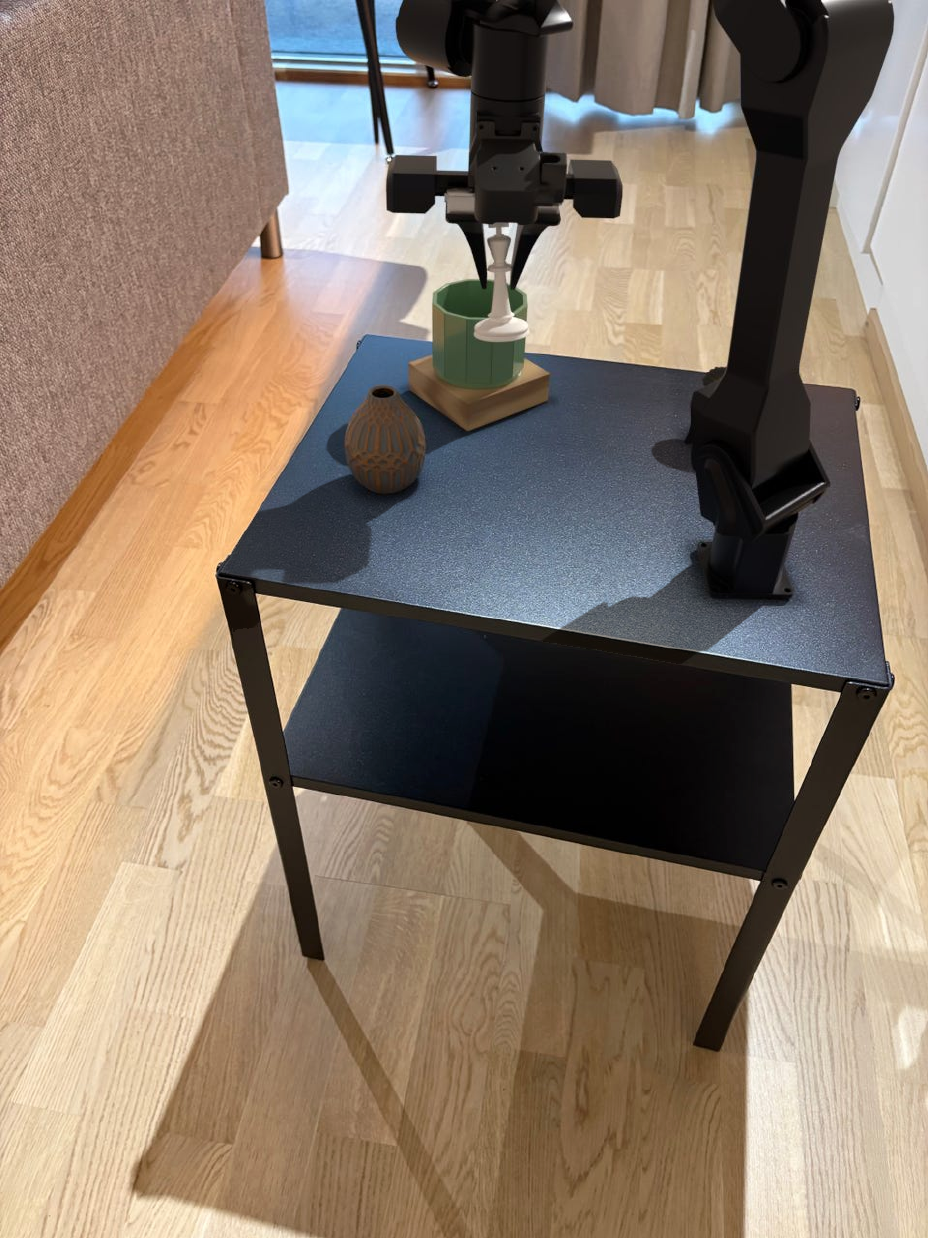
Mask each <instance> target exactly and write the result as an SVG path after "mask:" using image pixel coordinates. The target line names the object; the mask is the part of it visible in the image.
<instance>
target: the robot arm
mask: <svg viewBox="0 0 928 1238" xmlns="http://www.w3.org/2000/svg"><path fill="white" fill-rule="evenodd" d="M711 3H712V6H713V11H714V16H715V18H716V21H717V22H718V24H719V25H720V27H721V29H722V30H723V31H724V32H725V34H726V36H727V37H728V39H729V40H730V41H731V43H732V44H733V46H734V47H735V49H736V51H737V52H738V53H739V105H740V108H741V111H742V114H743V117H744V120H745V123H746V125H747V128H748V131H749V134H750V137H751V140H752V142H753V145H754V149H755V157H754V158H755V159H754V166H753V174H752V180H751V181H752V182H751V188H750V196H749V202H748V203H749V204H748V210H747V218H746V225H745V232H744V238H743V245H742V254H741V261H740V268H739V276H738V282H737V288H736V289H737V291H736V296H735V304H734V312H733V318H732V319H733V320H732V327H731V332H730V333H731V334H730V342H729V347H728V348H729V349H728V354H727V363H726V366H725V367H726V370H725V373H724V375H723V377H722V378H721V379H719V380H717V381H715V382H713V383H711V384H709V385H707V386H703V387H701V388H699V389H697V390H695V391H694V392H693V393H692V396H691V400H690V405H689V406H690V407H689V408H690V425H689V430H688V433H687V434H686V437H685V439H684V441H683V443H684V445H686V446H688V445H690V451H689V452H690V463H691V468H692V470H693V472H695V479H696V489H697V495H698V496H697V497H698V503H699V504H698V506H699V511H700V512H699V514H700V516H701V517H702V518H703V519H705V520H707V521H709V522H711V523H712V526H714V532H713V537H712V541H699V542H697V544H696V553H697V555H698V560H699V563H700V567H701V570H702V575H703V578H704V583H705V586H706V589H707V592H708V595H709V596H710V597H712V598H731V599H732V598H733V599H735V598H736V599H742V598H743V599H787V600H788V599H792V598H793V597H794V593H795V590H794V587H793V584H792V581H791V579H790V577H789V574H788V571H787V568H786V566H785V564H786V560H787V557H788V553H789V550H790V547H791V543H792V540H793V537H794V533H795V530H796V527H797V522H798V519H799V512H801V511H802V510H804V509H805V508H808V507H809V506H810V505H812V504H815V503H817V502H818V501H819V500H820V499H821V498H822V497H823V496H824V495H825V493H826V492H827V491H828V490H829V488H830V487H831V481H830V479H829V476H828V475H827V473H826V472H827V471H826V470H825V468H824V466H823V465H822V461H821V460H820V458H819V455H818V454H817V452H816V449H815V447H814V446H813V443H812V441H811V415H812V414H811V413H812V412H811V410H812V409H811V407H812V403H811V399H810V398H809V394H808V392H807V390H806V387H805V384H804V382H803V380H802V376H801V374H800V365H801V359H802V355H803V348H804V343H805V338H806V332H807V327H808V322H809V317H810V312H811V306H812V300H813V295H814V289H815V285H816V279H817V273H818V268H819V263H820V257H821V252H822V247H823V241H824V236H825V231H826V226H827V219H828V214H829V210H830V205H831V197H832V195H833V194H832V192H833V188H834V182H835V177H836V172H837V166H838V162H839V157H840V154H841V151H842V149H843V146H844V145H845V143H846V141H847V139H848V138H849V137H850V134H851V133H852V131H853V130H854V128H855V126H856V124H857V122H858V121H859V119H860V117H861V116H862V114H863V112H864V111H865V110H866V107H867V106H868V104H869V102H870V101H871V99H872V97H873V95H874V92H875V88H876V85H877V83H878V81H879V77H880V74H881V71H882V69H883V66H884V63H885V60H886V57H887V54H888V52H889V48H890V46H891V42H892V39H893V36H894V29H895V11H894V3H893V2H892V1H891V0H711ZM394 27H395V28H394V29H395V34H396V40H397V43H398V46H399V48H400V50H401V51H402V54H404V56H405V57H407V58H408V59H409V60H411V61H413V62H415V63H418V64H422V65H424V66H428V67H430V68H433V69H436V70H439V71H442V72H445V73H448V74H450V75H453V76H456V77H460V78H468V77H469V78H470V99H469V100H470V102H469V136H468V137H469V138H468V139H469V140H468V159H467V161H468V163H467V164H468V165H467V170H442V169H441V170H438V155H418V154H416V155H415V154H414V155H413V154H395V155H394V156H393V157H392V158H391V159H390V161H389V162H388V167H387V173H386V178H385V200H386V201H385V203H386V204H385V205H386V211H387V212H390V213H392V214H414V215H415V214H419V215H426V214H427V213H428V212H429V211H430V210H431V209H432V208H433V207H434V206H435V205H436V197H444V198H443V199H444V201H443V202H444V203H445V209H444V211H445V213H444V215H445V216H444V218H445V219H444V220H445V222H447V224H451V225H452V224H453V225H457V226H458V227H459V228H460V230H461V231H462V233H463V235H464V237H465V241H466V242H467V244H468V246H469V249H470V252H471V255H472V259H473V262H474V267H475V269H476V273H477V276H478V279H479V280H480V283H481V287H482V289H487V279H488V270H487V269H488V261H487V260H488V259H487V250H486V238H485V228H484V225H488V224H491V225H492V224H494V223H509V224H516V231H515V236H514V244H513V249H512V250H513V251H512V255H511V262H510V264H511V265H512V266H511V267H512V270H511V271H509V275H510V276H509V284H510V290H515V288H516V287H518V283H519V281H520V279H521V276H522V274H523V272H524V269H525V266H526V264H527V262H528V259H529V257H530V255H531V252H532V250H533V248H534V246H535V245H536V243H537V241H538V239H539V238H540V236H541V235H542V234H543V232H544V231H546V230H547V228H548V227H557V226H559V225H560V224H561V220H562V217H561V211H560V206H562V205H563V203H564V202H565V201H567V200H569V201H572V208H573V210H575V212H576V213H577V214H578V215H579V216H580V217H581V219H617V218H619V217H620V216H621V211H622V203H623V193H624V192H623V191H624V190H623V189H624V185H623V182H622V180H621V176H620V173H619V170H618V168H617V166H616V165H615V164H614V162H613V161H612V160H609V159H608V160H607V159H606V160H605V159H569V162H568V154H567V152H554V151H553V152H551V151H544V149H543V134H544V133H543V132H544V120H545V104H546V91H547V77H548V66H549V51H550V39H551V38H550V36H551V35H556V34H562V33H568V32H571V31H572V30H573V29H574V21H573V19H572V17H571V16H570V14H569V12H567V10H566V9H565V8H564V7H563V6H562V5H561V4H560V2H559V0H402V2H401V4H400V6H399V9H398V15H397V16H396V18H395V26H394Z"/></svg>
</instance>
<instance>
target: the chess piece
mask: <svg viewBox="0 0 928 1238" xmlns="http://www.w3.org/2000/svg"><path fill="white" fill-rule="evenodd" d="M487 226H488V229H495V234H493V235H490V236H489V237H487V239H486V242H487V246H488V248H489V251H490V255H491V257H492V260H493V262H492V263H491V264H488V265H487V272H489V273H493V275H494V276H493V280H494V291H493V302H492V311H491V313H490V314H488V317H489V318H488V319H485V320H482V321H480V322H478V323H477V324H476V325H475V327H474V330H475V332H474V336H475V337H476V338H477V339H479V340H483V341H488V342H509V341H515V340H519V339H522V338H525V337H526V338H527V337H528V336H529V335H530V333H531V332H530V329H529V328H530V327H529V326H530V325H529V323H528V322H526V321H524V320H522V319H519V318H515V317H513V316H514V313H512V312H511V309H510V304H509V297H508V290H507V283H508V282H507V275H506V274H507V272H508V273H509V272H510V271H511V270H512V267H511V266H512V265H511V263H507V261H506V260H507V257H508V252H509V250H510V246H511V244H512V243H511V242H512V237H510V236H509V235H507V234H503V231H502V230H503V228H509V227H510V223H494V224H492V225H491V224H487Z"/></svg>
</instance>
